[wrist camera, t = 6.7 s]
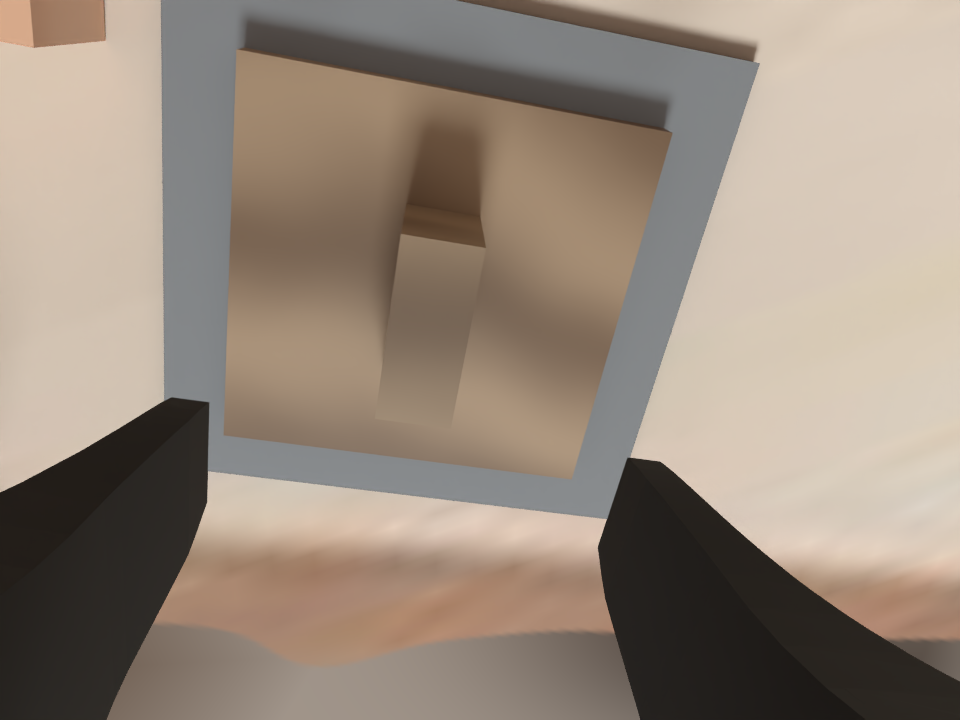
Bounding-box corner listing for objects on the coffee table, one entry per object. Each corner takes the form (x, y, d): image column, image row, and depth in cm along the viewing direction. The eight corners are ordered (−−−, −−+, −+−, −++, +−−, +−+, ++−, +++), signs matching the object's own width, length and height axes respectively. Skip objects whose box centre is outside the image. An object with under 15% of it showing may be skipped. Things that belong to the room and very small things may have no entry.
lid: (567, 465, 24) (587, 536, 21) (230, 421, 22) (194, 491, 19) (664, 128, 19) (709, 152, 16) (245, 47, 18) (200, 56, 15)
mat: (606, 511, 25) (609, 519, 25) (169, 459, 23) (165, 466, 23) (753, 62, 19) (759, 63, 18) (166, -60, 17) (160, -62, 17)
